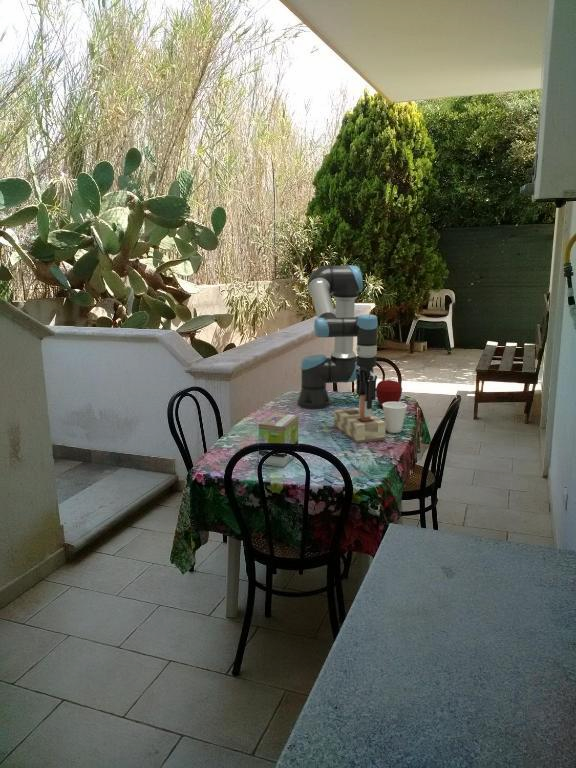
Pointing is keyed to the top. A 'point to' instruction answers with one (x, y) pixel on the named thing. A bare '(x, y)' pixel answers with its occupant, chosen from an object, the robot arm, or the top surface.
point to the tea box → (278, 435)
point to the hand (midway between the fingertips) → (365, 414)
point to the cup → (394, 416)
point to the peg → (362, 408)
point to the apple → (388, 391)
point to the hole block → (359, 426)
